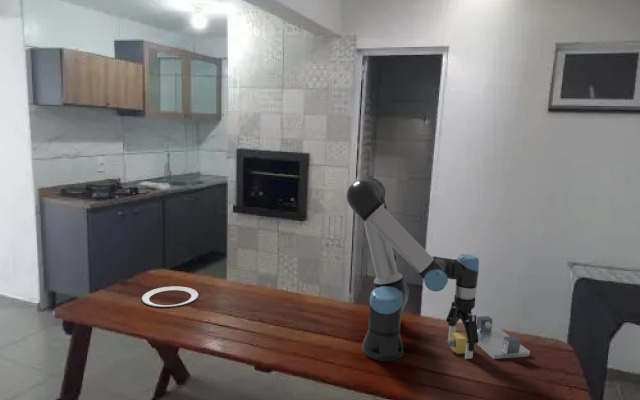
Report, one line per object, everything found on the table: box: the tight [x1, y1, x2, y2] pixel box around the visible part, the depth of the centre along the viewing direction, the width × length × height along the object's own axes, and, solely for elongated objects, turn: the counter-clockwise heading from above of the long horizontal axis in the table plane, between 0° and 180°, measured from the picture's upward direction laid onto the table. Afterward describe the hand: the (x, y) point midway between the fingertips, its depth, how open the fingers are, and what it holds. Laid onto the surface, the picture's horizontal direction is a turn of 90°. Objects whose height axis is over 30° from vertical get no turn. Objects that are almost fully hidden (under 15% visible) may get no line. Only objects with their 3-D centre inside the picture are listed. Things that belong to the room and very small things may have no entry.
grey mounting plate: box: [475, 315, 531, 360], centre depth 178 cm, size 21×15×7 cm
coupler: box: [447, 331, 468, 355], centre depth 173 cm, size 9×5×6 cm, turn 102°
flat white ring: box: [141, 285, 199, 308], centre depth 211 cm, size 25×25×1 cm
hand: (459, 349), depth 173 cm, fingers open, 12 cm apart
